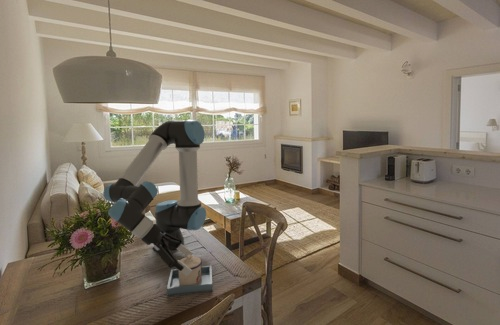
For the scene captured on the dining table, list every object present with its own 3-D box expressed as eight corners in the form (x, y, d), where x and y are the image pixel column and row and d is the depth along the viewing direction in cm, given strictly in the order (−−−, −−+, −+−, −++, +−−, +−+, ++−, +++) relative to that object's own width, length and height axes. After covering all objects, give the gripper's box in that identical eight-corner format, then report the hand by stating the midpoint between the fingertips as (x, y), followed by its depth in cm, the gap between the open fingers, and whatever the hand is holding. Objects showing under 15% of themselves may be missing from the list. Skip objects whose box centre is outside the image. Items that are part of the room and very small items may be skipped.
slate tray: (171, 276, 115) (171, 269, 115) (211, 271, 118) (211, 265, 118) (167, 296, 102) (166, 288, 102) (212, 290, 105) (212, 283, 104)
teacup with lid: (202, 289, 105) (200, 260, 103) (177, 291, 103) (175, 262, 102) (202, 272, 116) (201, 246, 115) (180, 274, 115) (179, 248, 113)
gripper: (147, 225, 116) (185, 255, 121) (132, 253, 92) (181, 289, 96) (159, 212, 116) (197, 243, 121) (147, 237, 92) (196, 274, 96)
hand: (190, 264), depth 109 cm, fingers open, 13 cm apart
